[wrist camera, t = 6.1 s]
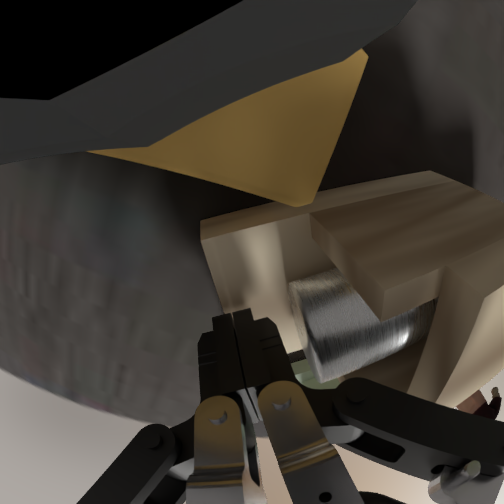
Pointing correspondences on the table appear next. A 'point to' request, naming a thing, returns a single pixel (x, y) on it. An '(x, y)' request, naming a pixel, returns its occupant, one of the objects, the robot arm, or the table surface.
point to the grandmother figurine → (482, 404)
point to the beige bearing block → (380, 271)
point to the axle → (349, 325)
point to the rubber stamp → (189, 84)
